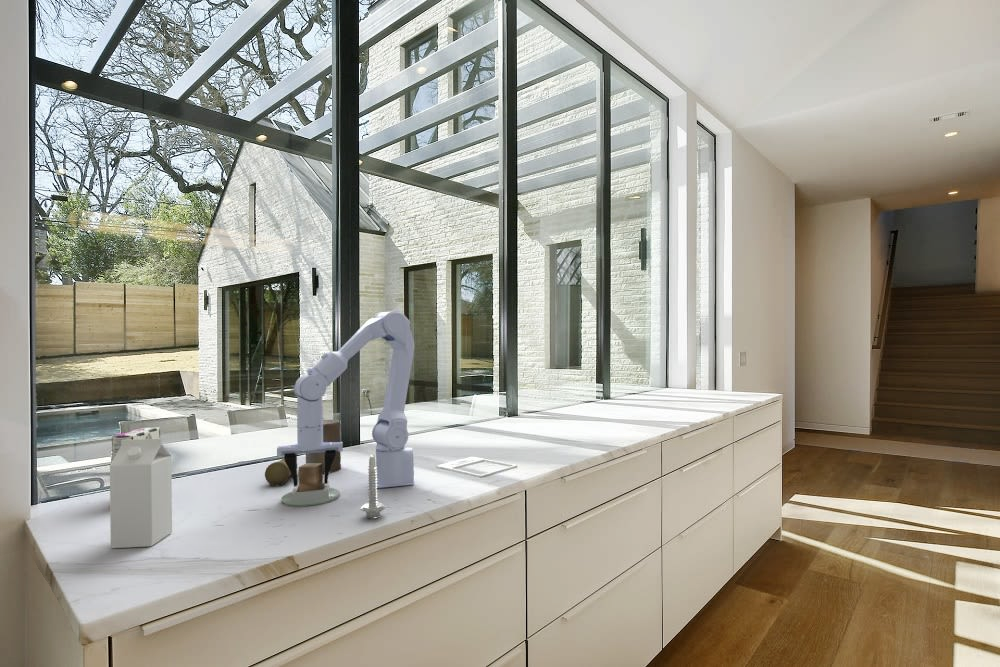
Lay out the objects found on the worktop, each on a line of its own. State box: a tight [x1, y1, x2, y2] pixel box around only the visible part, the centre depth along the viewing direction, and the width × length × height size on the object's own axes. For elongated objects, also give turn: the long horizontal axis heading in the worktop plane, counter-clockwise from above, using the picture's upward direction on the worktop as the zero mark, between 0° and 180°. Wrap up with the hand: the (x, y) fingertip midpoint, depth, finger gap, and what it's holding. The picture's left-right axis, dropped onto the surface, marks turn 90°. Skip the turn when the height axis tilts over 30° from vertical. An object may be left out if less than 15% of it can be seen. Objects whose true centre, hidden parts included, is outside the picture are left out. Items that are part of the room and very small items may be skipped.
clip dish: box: [280, 481, 341, 507], centre depth 126 cm, size 13×13×2 cm
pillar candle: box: [305, 419, 342, 474], centre depth 153 cm, size 10×10×15 cm
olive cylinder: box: [264, 458, 292, 487], centre depth 142 cm, size 6×6×11 cm
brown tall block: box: [298, 462, 324, 492], centre depth 126 cm, size 4×4×7 cm
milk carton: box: [109, 438, 173, 549], centre depth 100 cm, size 7×7×19 cm
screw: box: [360, 454, 386, 519], centre depth 111 cm, size 13×5×5 cm
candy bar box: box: [111, 426, 161, 462], centre depth 126 cm, size 11×5×16 cm, turn 4°
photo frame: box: [436, 456, 518, 478], centre depth 153 cm, size 15×1×18 cm
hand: (311, 484), depth 126 cm, fingers open, 6 cm apart
